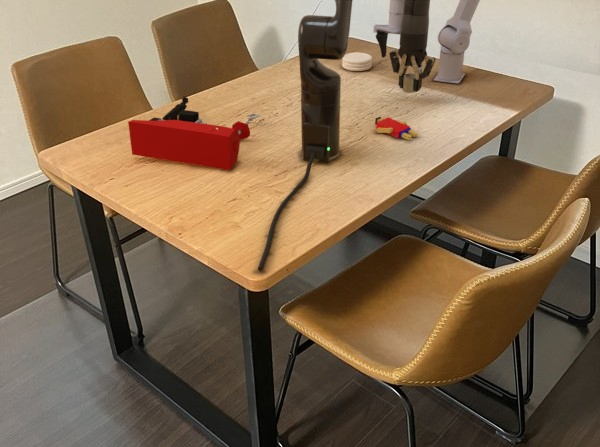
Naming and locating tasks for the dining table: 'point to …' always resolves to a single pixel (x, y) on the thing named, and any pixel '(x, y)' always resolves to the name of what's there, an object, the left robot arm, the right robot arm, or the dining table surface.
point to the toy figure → (394, 128)
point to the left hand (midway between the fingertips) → (409, 89)
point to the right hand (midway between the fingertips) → (395, 58)
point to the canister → (408, 83)
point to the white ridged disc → (357, 61)
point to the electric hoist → (188, 139)
